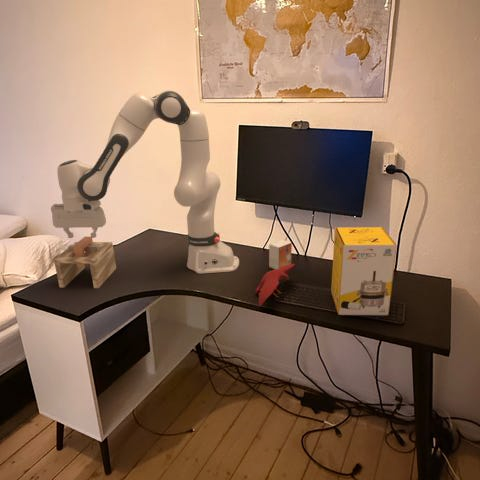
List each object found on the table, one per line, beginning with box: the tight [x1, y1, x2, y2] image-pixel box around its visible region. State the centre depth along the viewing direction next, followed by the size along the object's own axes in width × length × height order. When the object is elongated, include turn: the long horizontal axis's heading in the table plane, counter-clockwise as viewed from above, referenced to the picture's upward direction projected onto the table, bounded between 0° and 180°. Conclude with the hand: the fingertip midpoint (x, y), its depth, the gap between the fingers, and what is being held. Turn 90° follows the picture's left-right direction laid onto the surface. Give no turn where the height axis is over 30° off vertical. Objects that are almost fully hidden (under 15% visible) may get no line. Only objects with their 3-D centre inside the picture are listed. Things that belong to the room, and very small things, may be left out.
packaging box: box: [330, 226, 398, 316], centre depth 137 cm, size 16×16×25 cm
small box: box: [268, 239, 293, 270], centre depth 169 cm, size 8×6×10 cm
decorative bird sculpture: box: [255, 263, 296, 307], centre depth 146 cm, size 28×9×15 cm
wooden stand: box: [53, 241, 117, 289], centre depth 164 cm, size 16×18×14 cm
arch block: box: [73, 236, 94, 268], centre depth 162 cm, size 10×3×9 cm, turn 175°
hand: (82, 237), depth 160 cm, fingers open, 8 cm apart
